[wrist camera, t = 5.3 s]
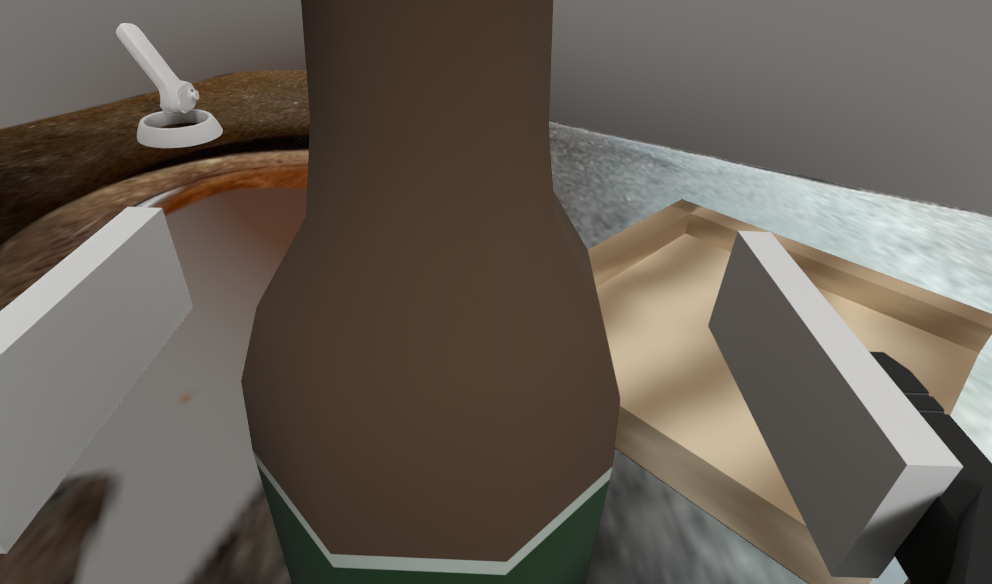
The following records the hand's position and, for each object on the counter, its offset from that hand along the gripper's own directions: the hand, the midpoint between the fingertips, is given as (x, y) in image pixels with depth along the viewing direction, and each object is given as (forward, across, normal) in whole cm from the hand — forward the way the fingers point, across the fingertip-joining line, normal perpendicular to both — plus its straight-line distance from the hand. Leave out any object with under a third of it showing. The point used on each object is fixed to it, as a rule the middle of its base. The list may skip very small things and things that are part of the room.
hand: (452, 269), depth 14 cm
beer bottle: (-2, 0, -13) cm, 13 cm away
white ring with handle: (+44, -30, -13) cm, 55 cm away
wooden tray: (+12, +14, -13) cm, 22 cm away
